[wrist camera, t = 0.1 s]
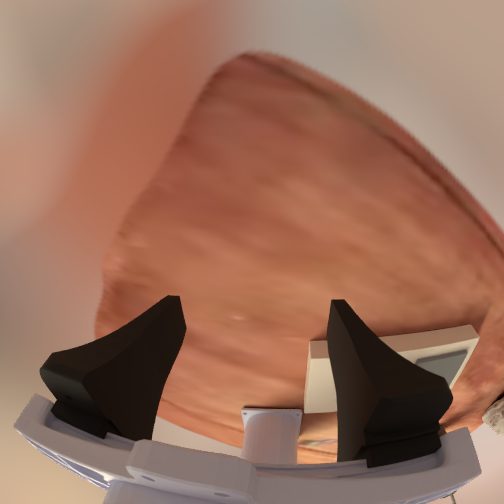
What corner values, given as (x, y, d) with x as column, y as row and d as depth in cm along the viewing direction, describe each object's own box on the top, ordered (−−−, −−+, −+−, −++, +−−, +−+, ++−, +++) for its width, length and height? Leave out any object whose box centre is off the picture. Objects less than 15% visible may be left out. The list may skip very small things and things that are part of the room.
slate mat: (444, 387, 25) (445, 391, 24) (398, 397, 26) (399, 401, 25) (466, 349, 22) (468, 352, 21) (417, 359, 23) (418, 363, 22)
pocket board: (443, 379, 27) (448, 392, 25) (303, 397, 30) (304, 413, 28) (470, 324, 23) (479, 337, 21) (309, 340, 26) (311, 358, 24)
